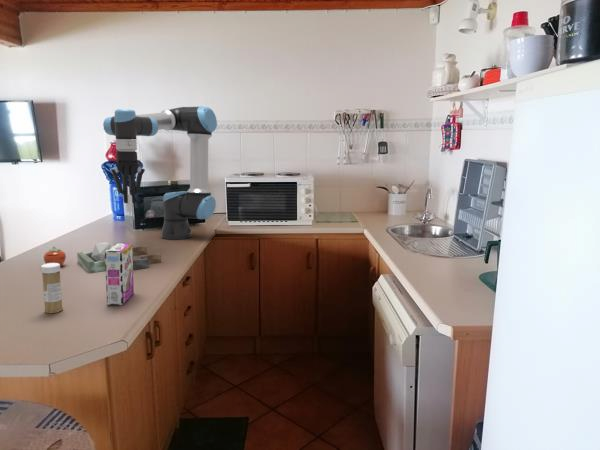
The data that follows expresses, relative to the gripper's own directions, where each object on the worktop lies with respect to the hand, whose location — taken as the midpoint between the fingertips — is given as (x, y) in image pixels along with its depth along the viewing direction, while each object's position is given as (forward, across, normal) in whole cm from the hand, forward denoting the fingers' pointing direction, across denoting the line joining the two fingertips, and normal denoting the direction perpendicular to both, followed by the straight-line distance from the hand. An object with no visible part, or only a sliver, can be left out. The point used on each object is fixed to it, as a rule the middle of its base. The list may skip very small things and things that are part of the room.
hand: (129, 211), depth 173 cm
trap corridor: (+20, -5, 0) cm, 21 cm away
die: (+21, -9, +4) cm, 23 cm away
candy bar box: (+20, -17, -43) cm, 51 cm away
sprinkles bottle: (+20, -35, -42) cm, 58 cm away
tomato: (+20, -26, +7) cm, 34 cm away
